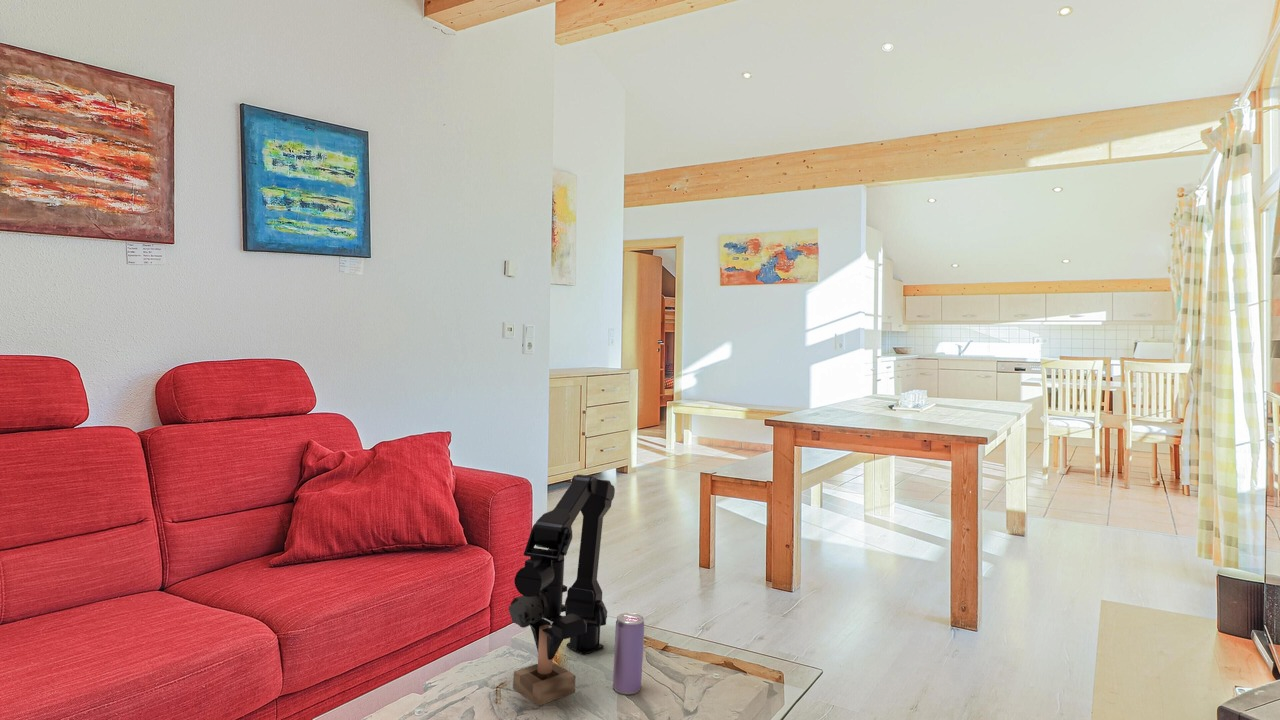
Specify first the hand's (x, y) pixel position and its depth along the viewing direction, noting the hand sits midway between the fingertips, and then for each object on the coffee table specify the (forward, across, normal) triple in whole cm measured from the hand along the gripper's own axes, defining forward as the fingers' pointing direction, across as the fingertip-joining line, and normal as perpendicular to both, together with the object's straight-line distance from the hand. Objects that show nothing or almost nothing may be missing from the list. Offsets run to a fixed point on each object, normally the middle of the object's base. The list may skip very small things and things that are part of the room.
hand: (545, 656), depth 149 cm
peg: (+3, 0, 0) cm, 3 cm away
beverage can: (+7, +10, +14) cm, 19 cm away
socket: (+7, 0, 0) cm, 7 cm away
